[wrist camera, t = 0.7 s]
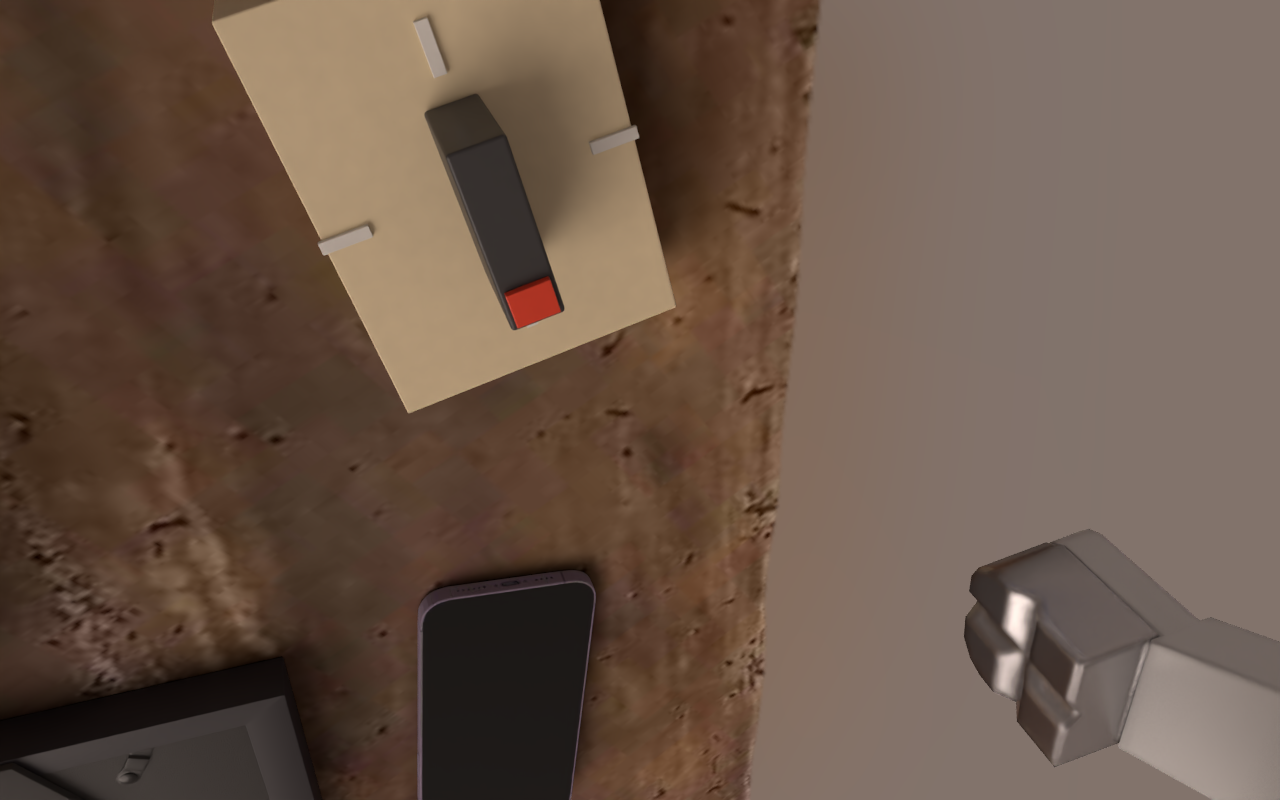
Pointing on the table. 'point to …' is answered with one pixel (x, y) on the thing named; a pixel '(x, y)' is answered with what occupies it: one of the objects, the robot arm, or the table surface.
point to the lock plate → (418, 183)
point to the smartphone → (503, 687)
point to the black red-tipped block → (496, 209)
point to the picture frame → (166, 743)
